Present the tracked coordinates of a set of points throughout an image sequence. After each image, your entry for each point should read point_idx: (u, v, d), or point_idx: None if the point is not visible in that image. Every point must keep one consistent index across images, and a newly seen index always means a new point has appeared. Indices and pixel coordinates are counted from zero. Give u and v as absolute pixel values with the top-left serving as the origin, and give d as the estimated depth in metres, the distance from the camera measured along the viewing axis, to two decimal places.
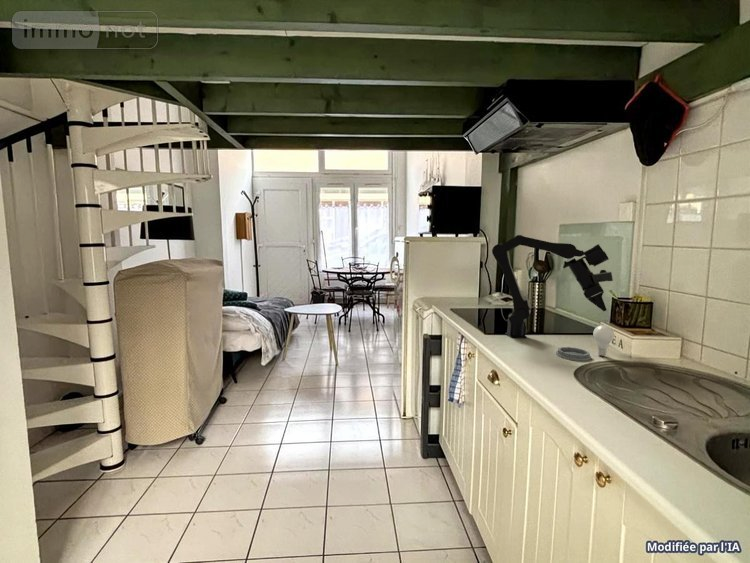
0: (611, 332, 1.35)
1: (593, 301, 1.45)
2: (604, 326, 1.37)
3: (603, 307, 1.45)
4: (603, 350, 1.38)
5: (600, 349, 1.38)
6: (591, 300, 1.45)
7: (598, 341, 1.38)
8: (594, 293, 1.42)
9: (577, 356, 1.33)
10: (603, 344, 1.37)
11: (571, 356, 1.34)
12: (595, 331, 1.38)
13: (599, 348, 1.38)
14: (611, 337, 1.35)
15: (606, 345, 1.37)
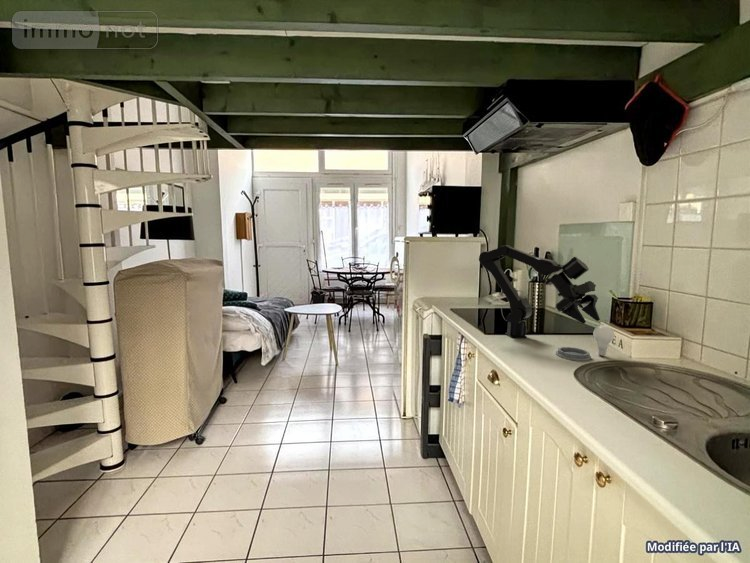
0: (611, 332, 1.35)
1: (569, 314, 1.42)
2: (604, 326, 1.37)
3: (580, 319, 1.40)
4: (603, 350, 1.38)
5: (600, 349, 1.38)
6: (567, 313, 1.42)
7: (598, 341, 1.38)
8: (563, 305, 1.40)
9: (577, 356, 1.33)
10: (603, 344, 1.37)
11: (571, 356, 1.34)
12: (595, 331, 1.38)
13: (599, 348, 1.38)
14: (611, 337, 1.35)
15: (606, 345, 1.37)
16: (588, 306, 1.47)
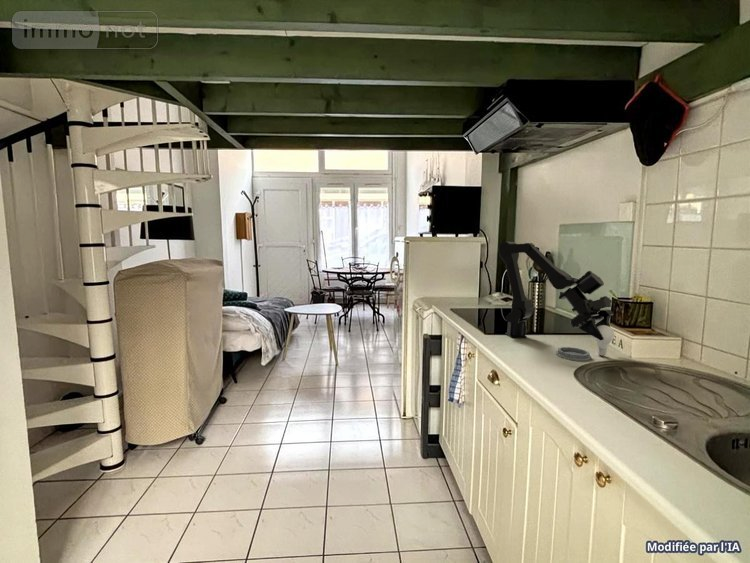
0: (611, 332, 1.35)
1: (586, 330, 1.38)
2: (604, 326, 1.37)
3: (598, 336, 1.36)
4: (603, 350, 1.38)
5: (600, 349, 1.38)
6: (584, 329, 1.39)
7: (598, 341, 1.38)
8: (578, 322, 1.36)
9: (577, 356, 1.33)
10: (603, 344, 1.37)
11: (571, 356, 1.34)
12: None
13: (599, 348, 1.38)
14: (611, 337, 1.35)
15: (606, 345, 1.37)
16: (601, 322, 1.42)
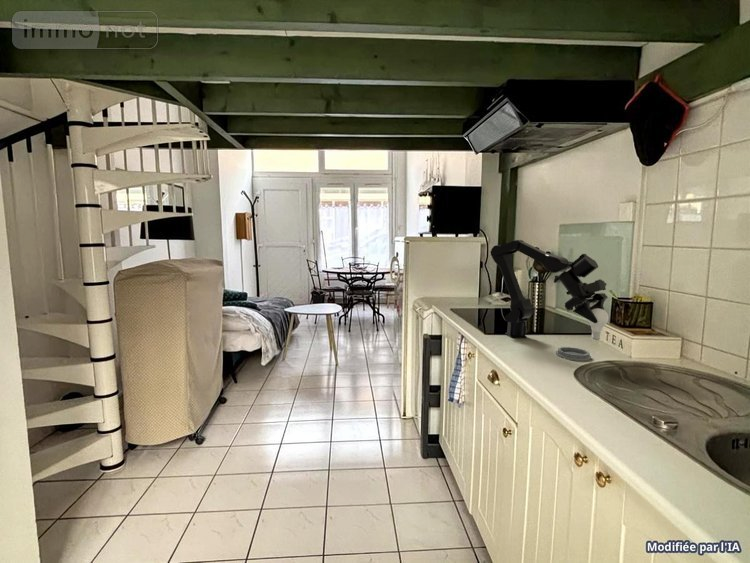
0: (605, 315, 1.35)
1: (580, 313, 1.37)
2: (598, 309, 1.36)
3: (592, 318, 1.35)
4: (597, 333, 1.37)
5: (594, 332, 1.38)
6: (578, 312, 1.38)
7: (592, 324, 1.37)
8: (572, 304, 1.35)
9: (577, 356, 1.33)
10: (597, 327, 1.36)
11: (571, 356, 1.34)
12: None
13: (593, 331, 1.38)
14: (605, 320, 1.35)
15: (600, 328, 1.36)
16: (595, 306, 1.42)
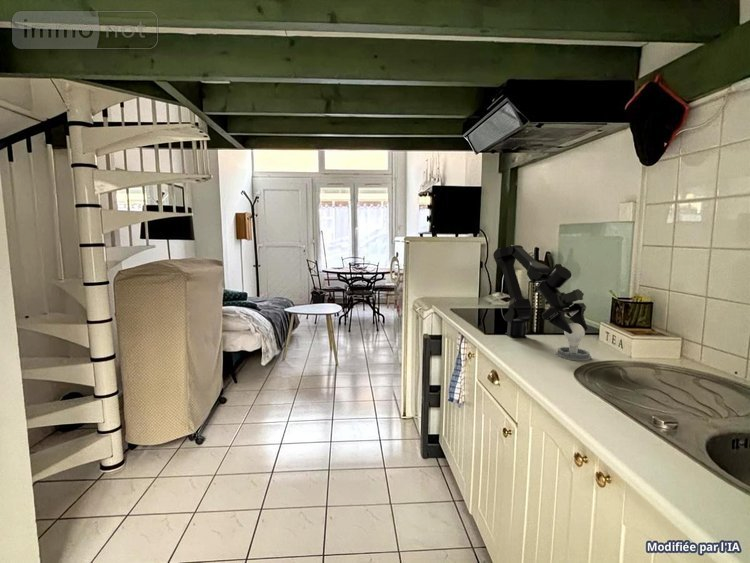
0: (581, 330, 1.35)
1: (556, 324, 1.36)
2: (574, 324, 1.36)
3: (567, 329, 1.34)
4: (574, 348, 1.37)
5: (571, 347, 1.37)
6: (553, 323, 1.37)
7: (569, 339, 1.37)
8: (549, 315, 1.35)
9: (577, 356, 1.33)
10: (574, 342, 1.36)
11: (571, 356, 1.34)
12: None
13: (570, 346, 1.38)
14: (581, 335, 1.35)
15: (577, 343, 1.36)
16: (576, 315, 1.42)
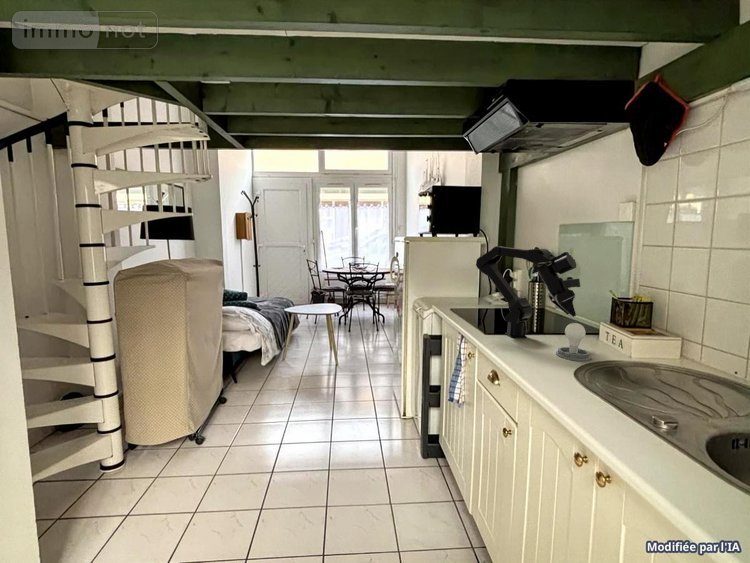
0: (582, 330, 1.35)
1: (564, 306, 1.45)
2: (575, 324, 1.36)
3: (572, 312, 1.45)
4: (574, 348, 1.37)
5: (571, 347, 1.38)
6: (562, 305, 1.45)
7: (569, 339, 1.37)
8: (567, 297, 1.42)
9: (577, 356, 1.33)
10: (574, 342, 1.36)
11: (571, 356, 1.34)
12: (566, 329, 1.37)
13: (570, 346, 1.38)
14: (582, 335, 1.35)
15: (577, 343, 1.36)
16: None
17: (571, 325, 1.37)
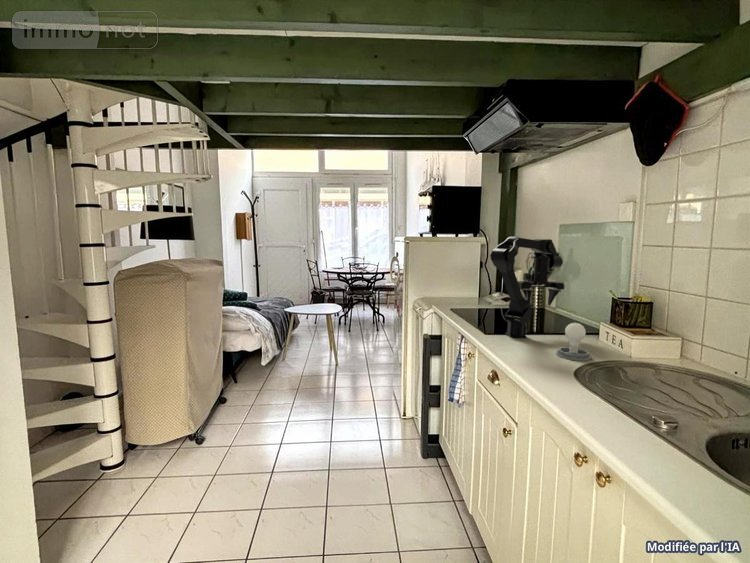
0: (582, 330, 1.35)
1: None
2: (575, 324, 1.37)
3: None
4: (574, 348, 1.37)
5: (571, 347, 1.38)
6: None
7: (569, 339, 1.37)
8: None
9: (577, 356, 1.33)
10: (574, 342, 1.36)
11: (571, 356, 1.34)
12: (566, 329, 1.38)
13: (570, 346, 1.38)
14: (582, 335, 1.35)
15: (577, 343, 1.36)
16: None
17: (571, 325, 1.37)
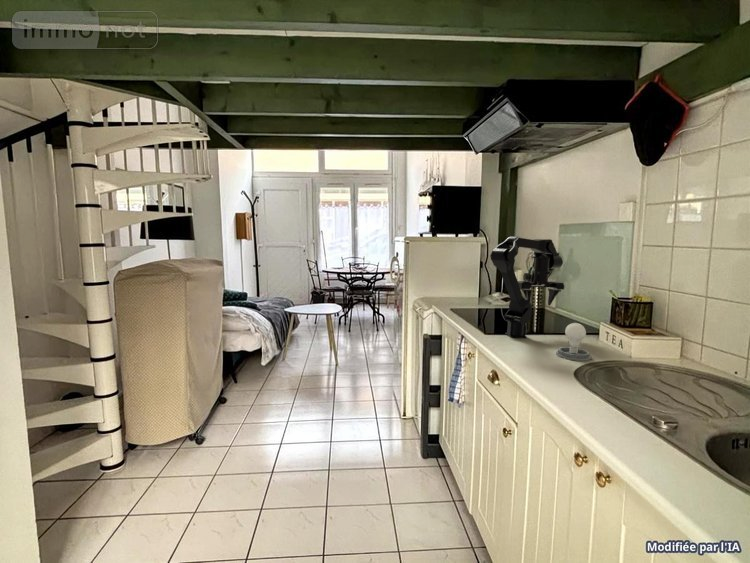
0: (582, 330, 1.35)
1: None
2: (576, 324, 1.36)
3: None
4: (574, 348, 1.37)
5: (571, 347, 1.38)
6: None
7: (569, 339, 1.37)
8: None
9: (577, 356, 1.33)
10: (574, 342, 1.36)
11: (571, 356, 1.34)
12: (567, 329, 1.37)
13: (571, 346, 1.38)
14: (582, 335, 1.35)
15: (577, 343, 1.36)
16: None
17: (571, 325, 1.37)
